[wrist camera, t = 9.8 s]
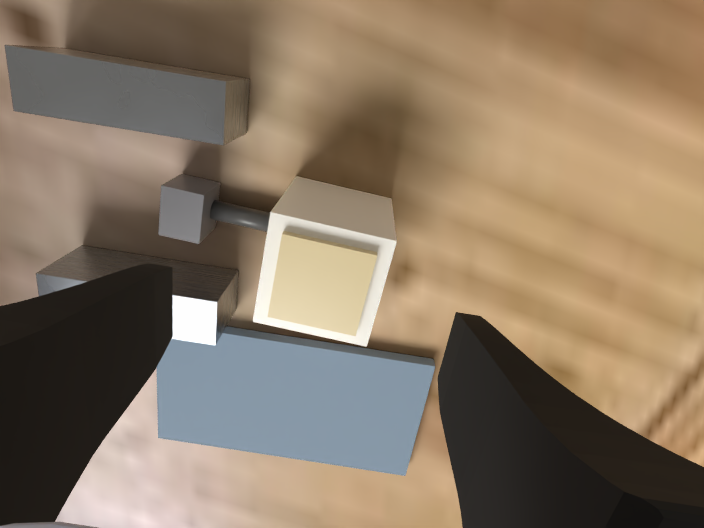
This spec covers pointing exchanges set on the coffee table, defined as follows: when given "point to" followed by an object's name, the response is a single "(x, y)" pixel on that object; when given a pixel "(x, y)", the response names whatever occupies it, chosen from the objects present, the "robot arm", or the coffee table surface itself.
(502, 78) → the coffee table surface
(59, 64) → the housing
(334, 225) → the wall lamp
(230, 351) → the mat
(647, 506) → the robot arm
